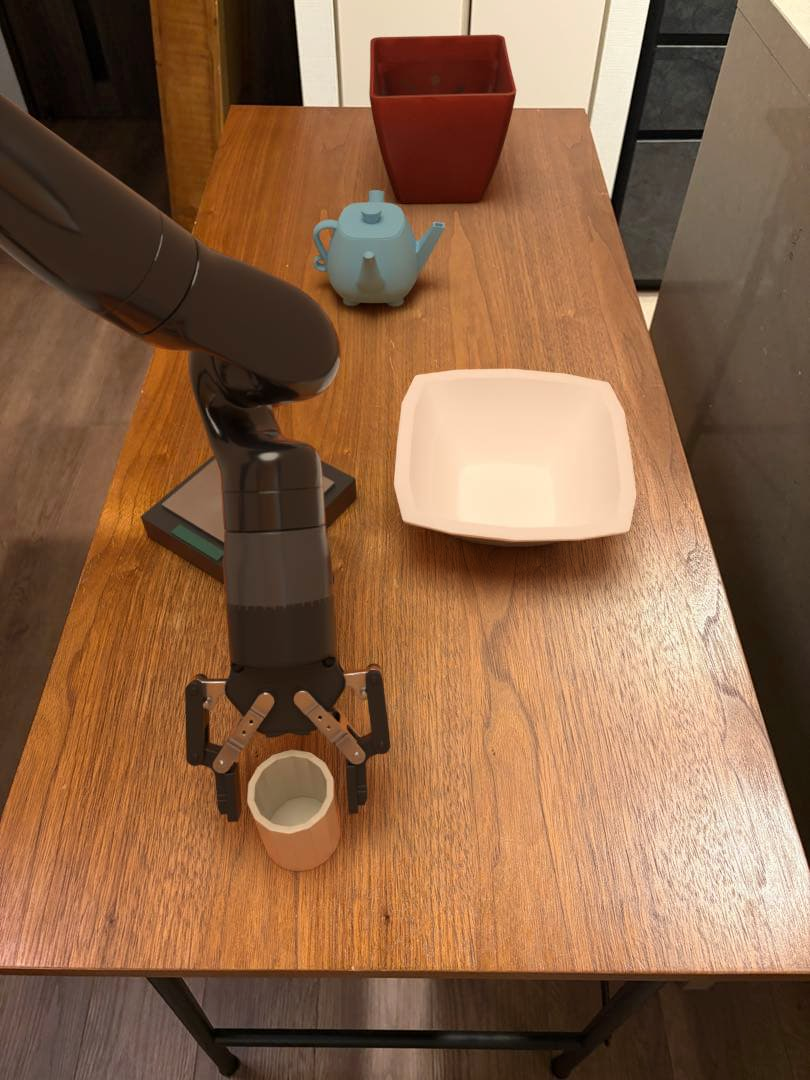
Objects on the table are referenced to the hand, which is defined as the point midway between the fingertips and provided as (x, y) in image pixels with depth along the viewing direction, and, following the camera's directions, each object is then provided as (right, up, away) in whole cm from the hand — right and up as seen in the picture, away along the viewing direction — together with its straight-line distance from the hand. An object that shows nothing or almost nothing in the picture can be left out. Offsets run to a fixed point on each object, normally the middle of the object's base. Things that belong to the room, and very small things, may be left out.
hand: (294, 813), depth 61 cm
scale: (-7, +22, +25) cm, 34 cm away
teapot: (+5, +52, +50) cm, 72 cm away
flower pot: (+13, +74, +67) cm, 100 cm away
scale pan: (-7, +24, +22) cm, 34 cm away
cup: (0, -3, +4) cm, 5 cm away
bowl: (+18, +23, +26) cm, 39 cm away
